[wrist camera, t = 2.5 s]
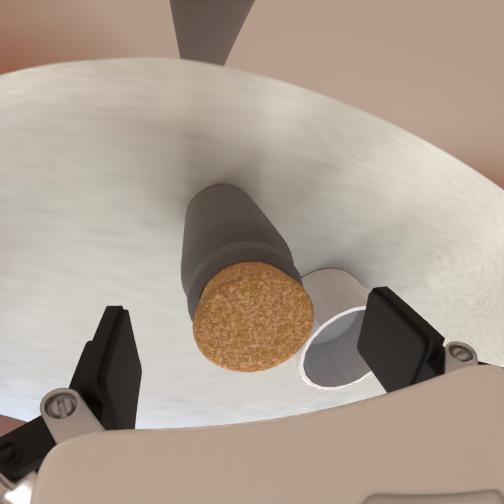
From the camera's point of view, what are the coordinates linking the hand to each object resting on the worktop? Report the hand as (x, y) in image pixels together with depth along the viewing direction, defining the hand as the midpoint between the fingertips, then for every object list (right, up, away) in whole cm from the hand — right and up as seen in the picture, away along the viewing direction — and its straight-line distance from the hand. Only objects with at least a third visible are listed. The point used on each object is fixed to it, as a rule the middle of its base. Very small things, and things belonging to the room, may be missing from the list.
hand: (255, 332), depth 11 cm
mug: (+9, -3, +20) cm, 22 cm away
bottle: (-3, +6, +14) cm, 15 cm away
